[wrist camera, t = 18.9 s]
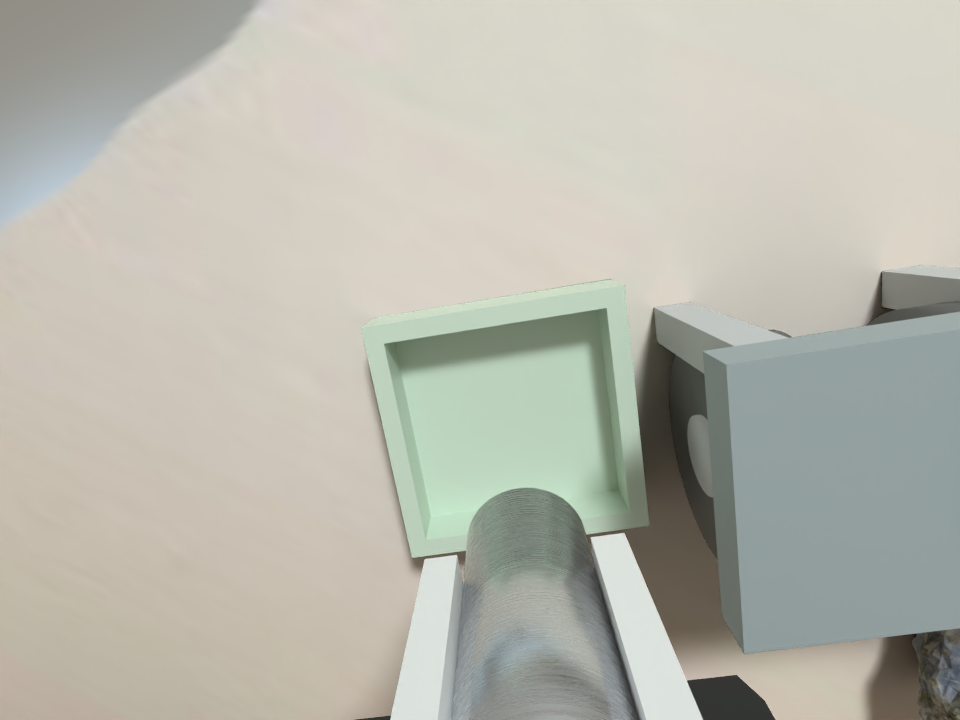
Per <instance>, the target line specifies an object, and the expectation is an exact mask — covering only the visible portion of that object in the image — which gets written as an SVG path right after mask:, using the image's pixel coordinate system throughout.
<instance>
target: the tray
mask: <svg viewBox="0 0 960 720" xmlns="http://www.w3.org/2000/svg"><path fill="white" fill-rule="evenodd" d="M361 330H362V335H363V339H364V344H365V349H366V353H367V358H368V362H369V367H370V371H371V376H372V380H373V385H374V389H375V394H376V398H377V403H378V407H379V412H380V416H381V421H382V425H383V430H384V434H385V439H386V443H387V448H388V452H389V457H390V461H391V466H392V470H393V475H394V479H395V484H396V488H397V493H398V497H399V502H400V506H401V511H402V515H403V520H404V524H405V529H406V533H407V538H408V542H409V547H410V551H411V556H412V558H415V557H423V556H430V555H437V554H445V553H452V552H460V551H466V547H467V536H468V530H469V526H470V523H471V521H472V519H473V517H474V515H475V514H476V512H477V511H478V510H479V508H480V507H481V506H482V505H483V504H484V503H485V502H487V501H488V500H489V499H491V498H492V497H494V496H495V495H497V494H500V493H502V492H504V491H508V490H511V489H516V488H537V489H542V490H546V491H549V492H551V493H554V494H556V495H558V496H559V497H561V498H563V499H564V500H565V501H567V502H568V503H569V504H570V505H571V506H572V507H573V508H574V509H575V511H576V512H577V513H578V515H579V517H580V519H581V520H582V523H583V526H584V529H585V532H586V534H593V533H601V532H608V531H616V530H623V529H630V528H638V527H645V526H650V525H649V515H648V506H647V496H646V487H645V477H644V467H643V458H642V448H641V438H640V429H639V419H638V409H637V400H636V390H635V381H634V371H633V361H632V352H631V342H630V332H629V323H628V313H627V303H626V294H625V285H623V284H621V283H618V282H616V281H614V280H611V279H607V280H601V281H595V282H589V283H583V284H577V285H571V286H565V287H559V288H553V289H546V290H540V291H534V292H528V293H522V294H516V295H510V296H504V297H498V298H492V299H485V300H479V301H473V302H467V303H461V304H455V305H449V306H443V307H437V308H431V309H424V310H418V311H412V312H406V313H400V314H394V315H388V316H382V317H376V318H374V319H372V320H371V321H370V322H368V323H367V324H366V325H364V326H363V327H362V328H361Z"/></svg>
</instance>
